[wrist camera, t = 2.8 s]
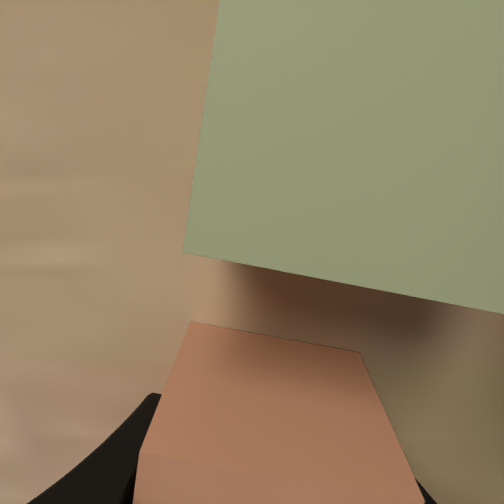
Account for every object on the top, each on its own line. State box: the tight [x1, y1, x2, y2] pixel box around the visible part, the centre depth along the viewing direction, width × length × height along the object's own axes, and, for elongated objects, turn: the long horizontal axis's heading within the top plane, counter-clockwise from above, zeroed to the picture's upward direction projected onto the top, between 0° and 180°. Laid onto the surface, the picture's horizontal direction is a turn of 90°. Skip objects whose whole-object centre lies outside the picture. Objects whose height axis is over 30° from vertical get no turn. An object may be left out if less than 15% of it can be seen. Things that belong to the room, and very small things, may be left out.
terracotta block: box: [133, 322, 425, 504], centre depth 10 cm, size 5×5×5 cm
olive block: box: [182, 0, 504, 314], centre depth 8 cm, size 5×5×5 cm
